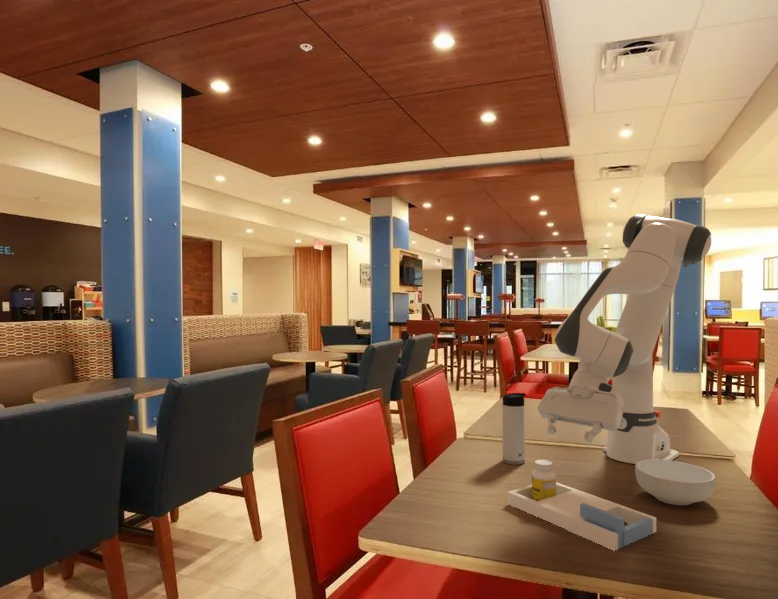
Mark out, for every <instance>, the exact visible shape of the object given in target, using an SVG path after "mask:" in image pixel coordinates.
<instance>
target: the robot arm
mask: <svg viewBox="0 0 778 599" xmlns="http://www.w3.org/2000/svg"><path fill="white" fill-rule="evenodd" d="M622 244H623V245H624V246H625V248H627V249H628V250H627V252H626V254H625V256H624V258H623V259H622V260H621V261H620V262H619V263H618V264H616V265H615V266H614V265H613V266H608V267H606V268H605V269H604V270H603V271H602V272H601V273H600V274H599V275H598V277H596V279H595V280H594V281H593V284H591V286H590V287H589V288H588V290H587V291H586V292H585V294H584V295H583V297H582V298H581V300H580V301H579V303H578V304H577V305H576V307H575V308H574V310H572V311H571V313H570V314H569V315H568V316H567V317H566V318H565V319H564V320H563V321H562V322H561V323H560V325H559V327H558V328H557V330H556V333H555V336H554V340H553V341H554V342H555V345H556V347H557V349H558V350H559V352H560V353H561V354H564V355H566V356H569V357H573V358H577V359H579V361H578V365H577V366H578V368H577V370H575V372H574V373H573V375H572V378H571V379H570V382H569V385H568V387H558V386H553V387H552V388H551V387H550V388H548V389H547V390H546V392H545V394H544V396H543V397H542V399H541V400H540V401H539V403H538V406H537V411H538V412H539V415H540V416H541V417H542V418H543V419H547V422H548V426H547V429H546V430H547V433H548V434H549V435H556V433H557V430H558V429H557V427H556V425H555V424H556V423H557V421H558V422H562V423H563V422H564V423H570V424H575V425H579V426H585V427H590V428H591V429H590V430H589V431H585V432H584V435H583V440H584V441H585V442H589V443H592V442H593V440H594V438H595V437H596V436H597V435H598V434H600V433H601V432H602V430H606V431H607V433H606V434H607V437H606V446H603V451H604V452H605V453H606V456H607V457H608V458H610V459H612V460H615V461H618V462H620V463H621V462H622V463H626V464H634V465H636V463H637V462H639V461H642V460H670V461H674V459H676V458H677V457H680V452H679V451H677V450H676V449H673V448H671V439H670V435H669V434H668V433H667V431H665V430H664V429H663V428H662V427H661V426H659V424H657V423H658V421H657V419H660V418H661V417H662V412H661V410H654V379H653V378H654V376H653V374H654V372H653V367H654V366H653V353H654V350H655V347H656V345H657V341H658V338H659V335H660V332H661V329H662V326H663V324H664V320H665V317H666V314H667V311H668V308H669V306H670V303H671V301H672V298H673V294H674V292H675V289H676V287H677V284H678V280H679V277H680V272H681V268H682V263H683V268H687V267H688V266H689V265H695V264H697V263H699V262H701V261H702V260H703V258H705V257H706V256H707V255H708V253H709V251H710V250H711V246H712V233H711V231H710V229H709V228H707V227H706V226H703V225H701V224H698V223H697V224H693V223H691V222H688V221H684V220H681V219H676V218H669V217H661V216H654V215H653V216H652V215H647V214H634V215H633V216H631V217H630V218H629V219H628V221H627V222H626V224H624V227H623V230H622ZM609 295H628V296H627V298H626V301H625V304H624V307H623V310H622V313H621V314H620V315H621V316H620V317H619V321H618V323H617V326H616V329H615V332H614V331H612V330H609V329H606V328H604V327H602V326H600V325H597V324H595V323H592V322H591V321H590V320H589V317H590V315H591V314H592V312H593V311H594V310H595V308H596V307H597V305H598V304H599V302H600V301H602V299H603V298H604V297H606V296H609ZM611 379H612V380H611ZM610 380H611V384H609V381H610Z"/></svg>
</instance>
